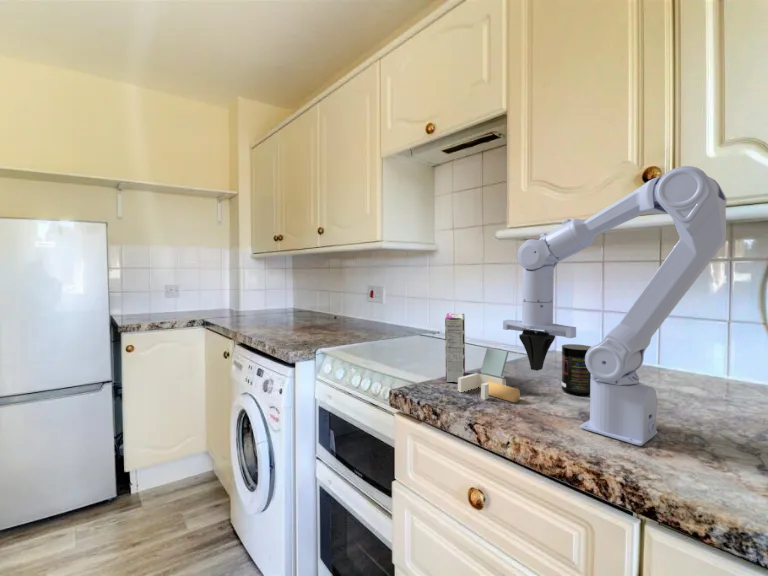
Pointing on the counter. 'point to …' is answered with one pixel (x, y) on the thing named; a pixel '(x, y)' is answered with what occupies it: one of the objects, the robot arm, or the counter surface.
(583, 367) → the supplement container
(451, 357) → the candy bar box
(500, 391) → the tan cylinder roller
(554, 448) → the counter surface
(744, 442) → the counter surface
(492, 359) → the cover flap
